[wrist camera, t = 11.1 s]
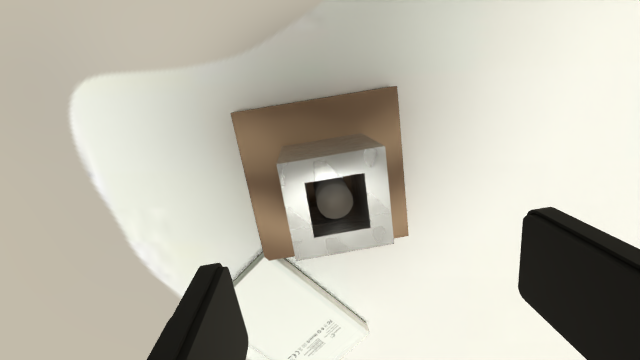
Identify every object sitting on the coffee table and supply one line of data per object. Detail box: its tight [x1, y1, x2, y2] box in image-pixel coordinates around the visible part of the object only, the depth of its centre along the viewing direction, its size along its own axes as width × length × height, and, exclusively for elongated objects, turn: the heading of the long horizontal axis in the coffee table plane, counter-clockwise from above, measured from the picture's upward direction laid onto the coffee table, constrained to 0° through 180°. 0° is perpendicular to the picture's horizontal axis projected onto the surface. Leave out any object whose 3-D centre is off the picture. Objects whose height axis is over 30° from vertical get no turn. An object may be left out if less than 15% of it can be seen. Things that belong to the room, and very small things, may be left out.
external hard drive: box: [233, 252, 369, 360], centre depth 27 cm, size 2×8×12 cm
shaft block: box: [231, 86, 408, 261], centre depth 21 cm, size 12×12×6 cm
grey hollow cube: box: [276, 133, 394, 261], centre depth 20 cm, size 6×6×6 cm
